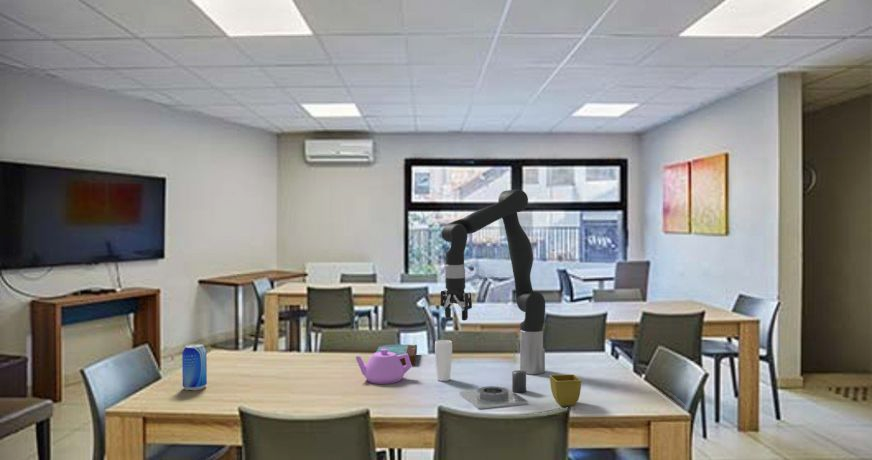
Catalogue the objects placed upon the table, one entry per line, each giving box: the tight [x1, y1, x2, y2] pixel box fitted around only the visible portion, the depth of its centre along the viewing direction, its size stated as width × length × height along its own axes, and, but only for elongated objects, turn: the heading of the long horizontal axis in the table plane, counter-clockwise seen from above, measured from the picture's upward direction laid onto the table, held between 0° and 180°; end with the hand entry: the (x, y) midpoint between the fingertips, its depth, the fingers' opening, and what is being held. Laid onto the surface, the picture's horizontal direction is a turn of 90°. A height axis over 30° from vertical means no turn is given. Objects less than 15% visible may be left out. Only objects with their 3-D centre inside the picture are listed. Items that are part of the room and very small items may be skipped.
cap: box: [511, 369, 527, 394], centre depth 221 cm, size 5×5×7 cm
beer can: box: [181, 343, 208, 391], centre depth 227 cm, size 8×8×16 cm
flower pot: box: [549, 373, 582, 407], centre depth 205 cm, size 9×9×9 cm
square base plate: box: [459, 385, 529, 410], centre depth 211 cm, size 18×18×3 cm
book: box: [375, 344, 418, 366], centre depth 272 cm, size 23×18×5 cm
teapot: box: [355, 349, 413, 385], centre depth 238 cm, size 22×16×12 cm
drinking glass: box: [434, 339, 453, 382], centre depth 237 cm, size 7×7×15 cm
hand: (456, 319), depth 230 cm, fingers open, 8 cm apart
